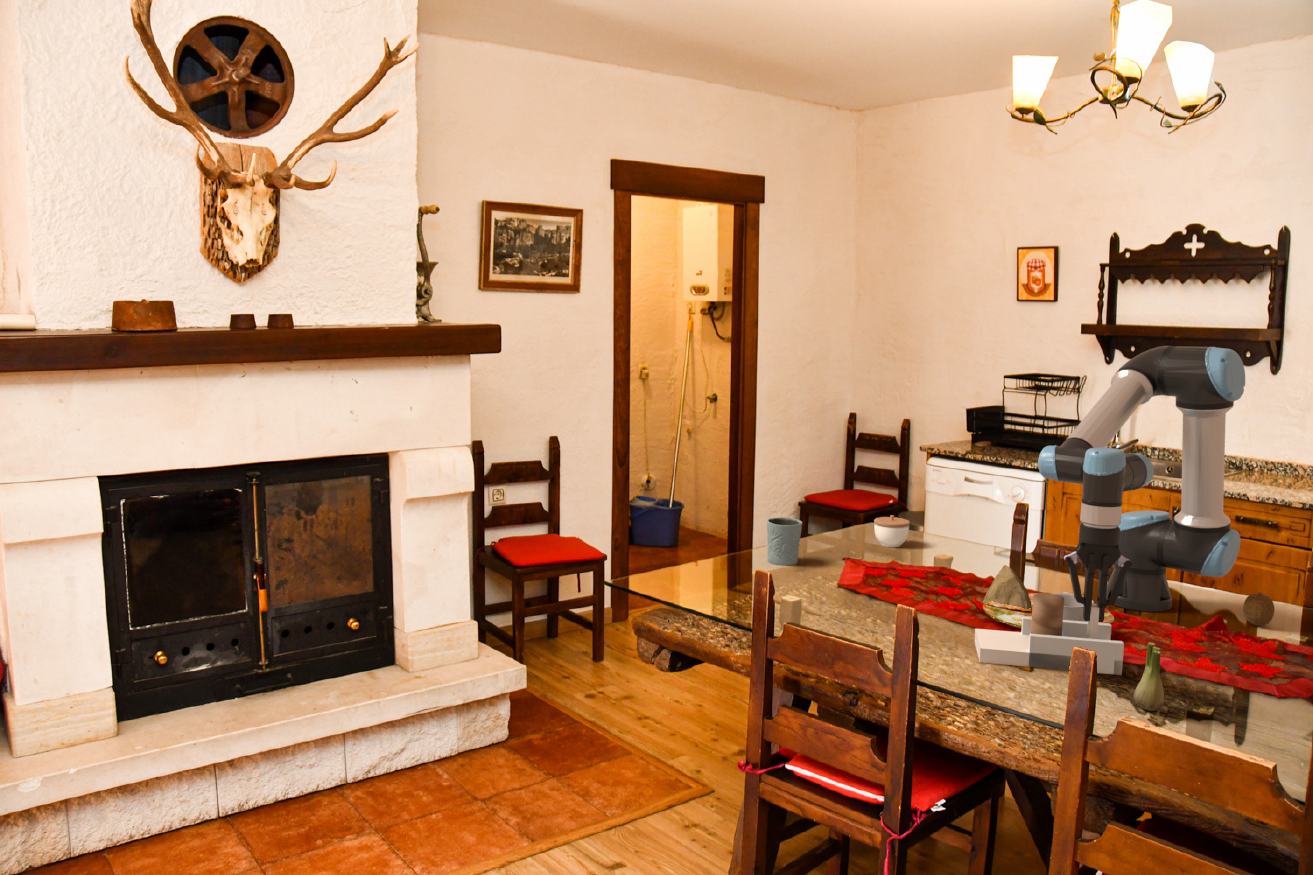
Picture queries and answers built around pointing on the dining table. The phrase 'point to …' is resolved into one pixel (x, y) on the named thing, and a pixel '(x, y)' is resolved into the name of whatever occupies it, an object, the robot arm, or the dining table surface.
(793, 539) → the embossed blue-grey cup
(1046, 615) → the brown cylinder
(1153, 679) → the fennel bulb
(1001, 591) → the rock
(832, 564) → the dining table surface
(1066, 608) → the teacup
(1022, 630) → the channel
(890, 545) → the lidded jar
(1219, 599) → the dining table surface
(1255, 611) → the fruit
